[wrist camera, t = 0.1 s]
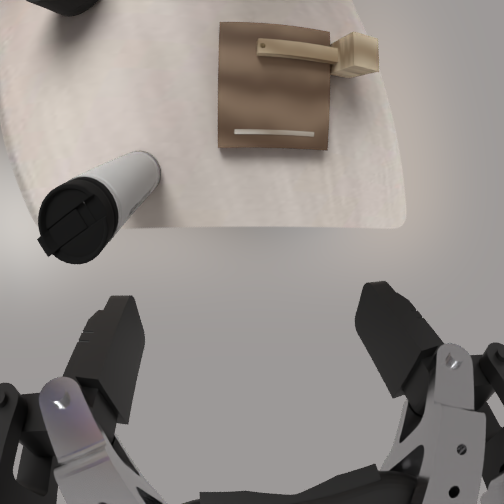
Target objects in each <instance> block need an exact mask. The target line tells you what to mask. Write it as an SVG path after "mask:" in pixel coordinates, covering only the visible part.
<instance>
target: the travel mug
mask: <svg viewBox="0 0 504 504" xmlns="http://www.w3.org/2000/svg"><path fill="white" fill-rule="evenodd" d="M160 176H161V172H160V166H159V164H158V162H157V160H156V159H155V158H154V157H153V156H152V155H151V154H149V153H147V152H144V151H135V152H131V153H129V154H126V155H124V156H121V157H119V158H116V159H114V160H112V161H109V162H107V163H105V164H102V165H100V166H98V167H95V168H93V169H91V170H89V171H87V172H85V173H82V174H80V175H78V176H76V177H74V178H72V179H71V180H69V181H68V182H66V183H64V184H62V185H60V186H58V187H56V188H55V189H53V190H52V191H51V192H50V193H49V194H48V195H47V196H46V197H45V199H44V200H43V202H42V205H41V207H40V210H39V216H38V226H39V231H40V235H41V237H39V238H38V239H37V240H38V242H39V243H40V245H41V247H42V248H43V250H44V251H45V253H46V254H47V256H50V255H51V254H53V255H54V256H55V257H56V258H58V259H59V260H61V261H64V262H66V263H70V264H83V263H87V262H89V261H91V260H93V259H94V258H95V257H97V256H98V255H99V254H100V252H101V251H102V250H103V248H104V247H105V246H106V245H107V243H108V242H109V241H110V240H111V239H112V238H113V237H114V235H115V234H116V233H117V232H118V231H119V229H120V228H121V227H122V226H123V225H124V223H125V222H126V221H127V220H128V219H129V217H130V216H131V215H132V214H133V213H134V211H135V210H136V209H137V208H138V207H139V206H140V205H141V203H142V202H143V201H144V200H145V199H146V198H147V197H148V196H149V194H150V193H151V192H152V191H153V190H154V189H155V188H156V186H157V185H158V183H159V180H160Z"/></svg>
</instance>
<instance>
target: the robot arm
mask: <svg viewBox="0 0 504 504" xmlns="http://www.w3.org/2000/svg"><path fill="white" fill-rule="evenodd" d="M355 327H356V331H357V333H358V335H359V336H360V338H361V340H362V342H363V344H364V345H365V347H366V349H367V351H368V353H369V354H370V356H371V358H372V360H373V361H374V364H375V365H376V367H377V369H378V371H379V373H380V375H381V377H382V378H383V380H384V382H385V384H386V386H387V388H388V390H389V392H390V394H391V396H392V398H396V397H399V396H402V395H405V396H406V398H407V399H406V401H405V403H404V405H403V410H402V414H401V418H400V422H399V426H398V430H397V434H396V438H395V441H394V444H393V447H392V449H391V451H390V453H389V455H388V456H387V458H386V459H385V461H384V463H383V465H382V467H381V469H380V471H378V470H377V467H376V464H373V465H370V466H367V467H364V468H361V469H358V470H354V471H351V472H348V473H345V474H341V475H337V476H335V477H333V478H331V479H329V480H327V481H325V482H323V483H321V484H319V485H317V486H315V487H313V488H310V489H308V490H306V491H304V492H301V493H299V494H295V495H282V494H269V493H258V492H250V491H236V492H200V499H198V500H193V501H189V502H186V503H183V504H477V499H478V494H479V489H480V483H481V477H483V480H484V482H485V484H486V488H487V490H488V491H486V492H485V493H483V495H482V496H481V499H480V501H481V504H504V427H503V428H502V427H500V425H499V423H498V422H497V420H496V418H495V416H494V414H493V412H492V410H491V409H490V407H489V405H488V403H487V402H486V401H487V400H488V399H489V398H490V397H491V395H492V394H493V393H494V392H496V393H497V395H498V397H499V398H500V400H501V402H502V403H503V405H504V345H503V344H500V343H491V344H490V345H489V346H488V348H487V349H486V351H485V352H484V354H483V355H469V353H468V352H467V351H466V350H465V349H464V348H462V347H461V346H459V345H456V344H452V343H450V344H449V343H448V344H444V343H443V342H442V340H441V339H440V338H439V337H438V335H437V334H436V333H435V331H434V330H433V329H432V328H431V327H430V325H429V324H428V323H427V322H426V320H425V319H424V318H422V316H421V314H420V313H419V312H418V311H416V309H415V307H414V306H413V305H412V304H411V303H410V301H409V300H408V299H406V298H405V297H403V296H401V295H400V294H398V293H396V292H395V291H394V290H393V288H392V287H391V286H390V285H389V284H388V283H387V282H386V281H379V282H371V283H366V284H365V285H364V286H363V290H362V293H361V297H360V301H359V305H358V308H357V312H356V316H355ZM144 345H145V336H144V330H143V326H142V323H141V320H140V316H139V313H138V309H137V306H136V303H135V299H134V297H133V296H111V297H110V298H109V300H108V302H107V304H106V306H105V308H104V310H98V311H97V312H96V313H95V314H94V315H93V316H92V317H91V318H90V319H89V320H88V322H87V324H86V326H85V328H84V330H83V333H82V334H81V336H80V338H79V342H78V343H77V345H76V347H75V349H74V351H73V354H72V356H71V358H70V360H69V362H68V365H67V367H66V369H65V372H64V374H63V377H57V378H54V379H52V380H50V381H49V382H48V383H46V384H45V386H44V387H43V388H42V390H41V392H40V393H33V394H22V395H21V394H20V393H19V392H18V391H17V390H16V388H15V387H14V386H13V385H12V384H9V383H1V384H0V504H56V501H57V490H58V486H59V488H60V490H61V493H62V495H63V497H64V499H65V501H66V503H67V504H167V503H166V502H165V501H164V499H163V498H162V497H161V496H160V495H159V494H158V493H157V491H156V490H155V489H154V488H153V487H152V486H151V485H150V484H149V483H148V481H147V480H146V479H145V478H144V476H143V475H142V474H141V472H140V471H139V469H138V468H137V467H136V465H135V464H134V462H133V461H132V459H131V458H130V456H129V455H128V453H127V451H126V450H125V448H124V447H123V445H122V443H121V442H120V440H119V438H118V437H117V435H116V434H115V428H116V423H121V424H128V422H129V416H130V411H131V405H132V400H133V395H134V390H135V385H136V380H137V376H138V371H139V367H140V362H141V358H142V353H143V349H144ZM18 443H21V444H22V445H23V450H22V454H21V460H20V464H19V470H18V475H17V479H16V480H15V478H14V475H13V466H14V461H15V456H16V452H17V447H18Z"/></svg>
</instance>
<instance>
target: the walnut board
mask: <svg viewBox="0 0 504 504" xmlns="http://www.w3.org/2000/svg"><path fill="white" fill-rule="evenodd" d="M258 38H263V39H276V40H287V41H296V42H303V43H310V44H316V45H322V46H328V47H330V32H327V31H321V30H316V29H310V28H303V27H296V26H288V25H279V24H267V23H249V22H220V32H219V67H218V148H233V147H264V148H296V149H313V150H327V148H328V130H329V106H330V64H329V63H323V62H316V61H309V60H302V59H293V58H283V57H270V56H257V40H258Z"/></svg>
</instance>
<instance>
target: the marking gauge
mask: <svg viewBox="0 0 504 504" xmlns="http://www.w3.org/2000/svg"><path fill="white" fill-rule="evenodd" d="M257 56H270V57H283V58H293V59H302V60H309V61H316V62H323V63H329V64H330V75H334V76H340V77H345V78H352V77H356V76H361V75H365V74H369V73H374V72H379V57H378V56H379V55H378V39H377V38H373V37H370V36H367V35H364V34H360V33H356V32H352V33H350V34H348V35H346V36H345V37H343V38H341V39H339V40H338V41H336V42H334V43H333V44H331V45H330V47H328V46H322V45H316V44H310V43H303V42H296V41H287V40H276V39H263V38H258V40H257Z"/></svg>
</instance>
